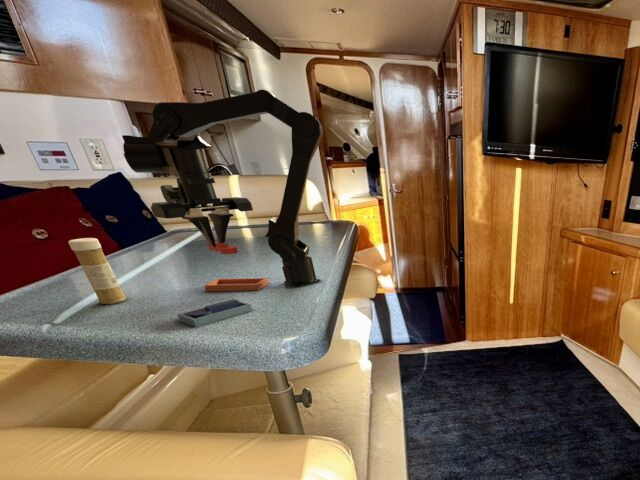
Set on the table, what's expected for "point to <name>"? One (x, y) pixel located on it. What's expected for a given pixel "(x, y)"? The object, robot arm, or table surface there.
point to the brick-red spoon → (223, 248)
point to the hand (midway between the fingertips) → (218, 246)
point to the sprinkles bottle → (97, 270)
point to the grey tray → (214, 315)
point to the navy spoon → (215, 308)
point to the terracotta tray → (236, 284)
